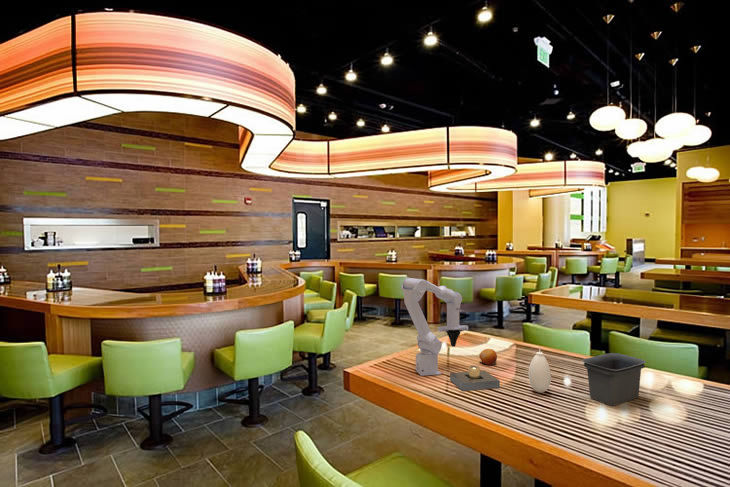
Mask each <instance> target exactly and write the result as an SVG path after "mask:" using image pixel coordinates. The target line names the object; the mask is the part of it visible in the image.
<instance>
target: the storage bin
mask: <svg viewBox="0 0 730 487" xmlns="http://www.w3.org/2000/svg"><path fill="white" fill-rule="evenodd" d="M582 362H584V363H583V367H584V368H586V371H587V380H588V388H589V389H588V390H589V397H590V398H591V399H592V400H595V401H597V402H600V403H603V404H605V405H608V406H611V407H612V406H616V405H619V404H623V403H625V402H628V401H632V400H634V399H637V398H639V396H640V384H641V383H640V382H641V374H642V369H645V367H646V365H645V364H646V363H647V361H646V360H644V359H642V358H638V357H634V356H630V355H626V354H622V353H618V352H616V353H615V352H611V353H604V354H599V355H595V356H591V357H587V358H584V359H582Z"/></svg>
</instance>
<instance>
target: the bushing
mask: <svg viewBox="0 0 730 487" xmlns="http://www.w3.org/2000/svg"><path fill="white" fill-rule="evenodd" d="M480 368H481V367H480V366H479V365H474V364H473V365H472V364H471V365H468V372H469V379H470V380H474V379H480V371H481V370H480Z"/></svg>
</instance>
